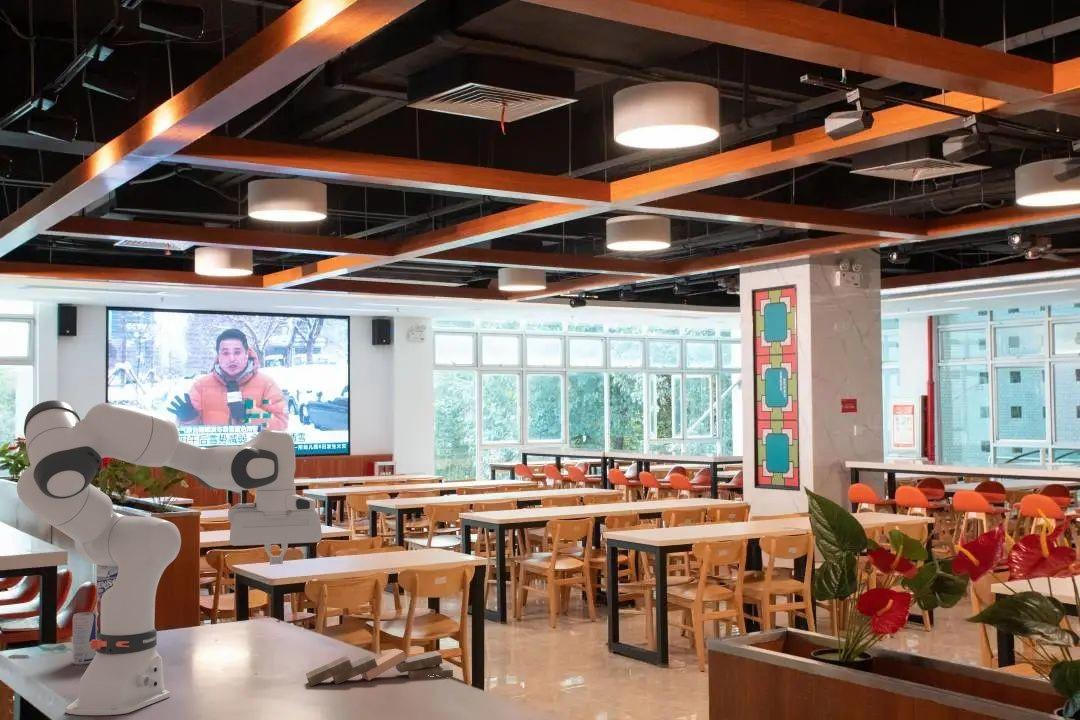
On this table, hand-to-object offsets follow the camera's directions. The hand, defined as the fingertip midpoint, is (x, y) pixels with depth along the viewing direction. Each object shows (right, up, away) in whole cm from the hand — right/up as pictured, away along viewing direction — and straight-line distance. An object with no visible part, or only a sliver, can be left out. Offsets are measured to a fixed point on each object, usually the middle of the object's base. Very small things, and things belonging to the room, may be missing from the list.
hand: (276, 564), depth 252 cm
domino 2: (+12, -26, +2) cm, 29 cm away
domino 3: (+19, -26, +3) cm, 32 cm away
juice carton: (-50, -30, +39) cm, 70 cm away
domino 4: (+26, -25, +7) cm, 37 cm away
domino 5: (+29, -26, +6) cm, 40 cm away
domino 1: (+7, -26, 0) cm, 27 cm away
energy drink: (-54, -30, +27) cm, 68 cm away
